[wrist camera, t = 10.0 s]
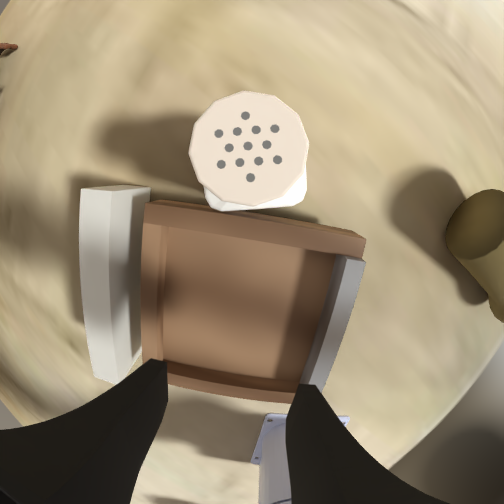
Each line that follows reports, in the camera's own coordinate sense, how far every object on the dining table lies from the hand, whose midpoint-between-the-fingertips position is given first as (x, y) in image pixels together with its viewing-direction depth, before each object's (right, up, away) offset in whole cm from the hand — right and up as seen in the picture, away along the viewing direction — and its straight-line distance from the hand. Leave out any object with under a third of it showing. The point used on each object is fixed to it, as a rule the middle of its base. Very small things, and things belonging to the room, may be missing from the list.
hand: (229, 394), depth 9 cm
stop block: (-8, +4, +9) cm, 12 cm away
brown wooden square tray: (0, +2, +9) cm, 9 cm away
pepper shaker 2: (+15, +7, +4) cm, 17 cm away
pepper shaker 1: (+1, +10, +7) cm, 13 cm away
